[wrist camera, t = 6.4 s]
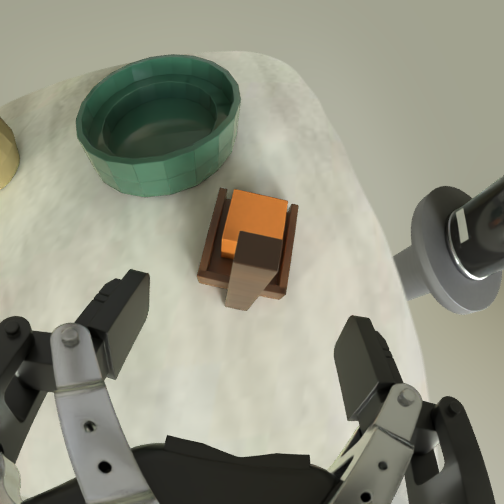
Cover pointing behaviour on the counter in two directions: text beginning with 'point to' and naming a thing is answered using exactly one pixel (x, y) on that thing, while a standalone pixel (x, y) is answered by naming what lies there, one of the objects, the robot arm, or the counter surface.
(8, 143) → the squeeze bottle
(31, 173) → the counter surface
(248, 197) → the block
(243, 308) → the scoop
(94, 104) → the green pet bowl
